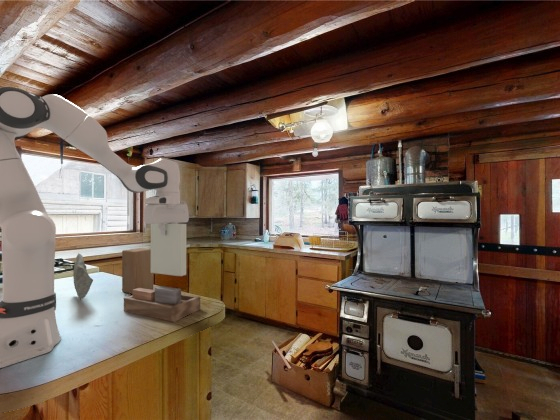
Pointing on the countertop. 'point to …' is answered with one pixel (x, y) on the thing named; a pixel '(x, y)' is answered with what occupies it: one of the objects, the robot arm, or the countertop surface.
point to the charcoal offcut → (168, 295)
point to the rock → (81, 277)
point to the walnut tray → (163, 307)
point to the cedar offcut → (144, 294)
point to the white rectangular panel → (168, 250)
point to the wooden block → (136, 269)
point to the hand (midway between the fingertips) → (168, 234)
